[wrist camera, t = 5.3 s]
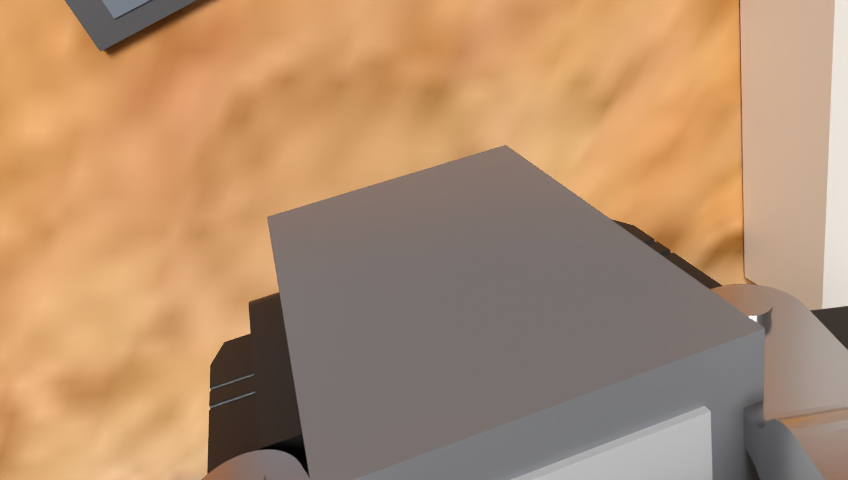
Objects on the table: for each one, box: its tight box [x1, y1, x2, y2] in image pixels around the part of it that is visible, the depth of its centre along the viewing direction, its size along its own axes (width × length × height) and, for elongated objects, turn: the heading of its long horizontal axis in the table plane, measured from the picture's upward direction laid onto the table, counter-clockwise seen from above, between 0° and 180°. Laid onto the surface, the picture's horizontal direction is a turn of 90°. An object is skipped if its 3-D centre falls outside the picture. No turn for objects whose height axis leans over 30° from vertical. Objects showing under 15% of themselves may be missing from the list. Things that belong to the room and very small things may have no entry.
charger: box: [267, 145, 765, 480], centre depth 9 cm, size 4×4×6 cm
